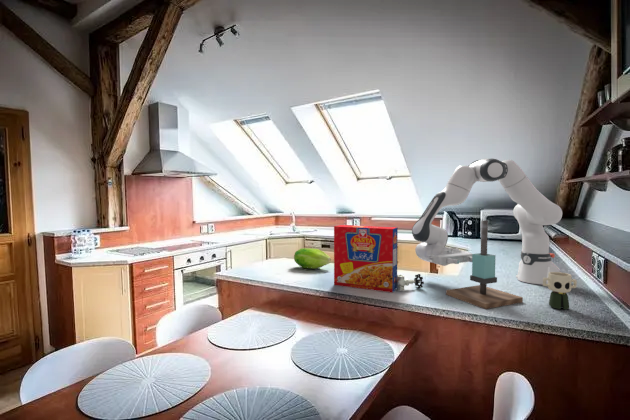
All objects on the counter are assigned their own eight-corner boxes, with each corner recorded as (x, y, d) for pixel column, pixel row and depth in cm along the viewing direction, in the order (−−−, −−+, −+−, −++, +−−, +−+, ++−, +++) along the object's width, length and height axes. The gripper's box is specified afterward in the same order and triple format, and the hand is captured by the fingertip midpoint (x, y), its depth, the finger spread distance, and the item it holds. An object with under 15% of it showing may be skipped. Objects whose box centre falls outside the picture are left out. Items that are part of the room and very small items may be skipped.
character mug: (545, 309, 127) (546, 275, 126) (538, 303, 134) (539, 270, 133) (580, 312, 124) (581, 277, 123) (571, 306, 131) (572, 272, 130)
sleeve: (482, 274, 144) (483, 252, 144) (495, 277, 139) (495, 255, 138) (472, 275, 142) (472, 254, 142) (484, 278, 136) (484, 256, 136)
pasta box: (334, 284, 163) (334, 226, 161) (340, 281, 170) (340, 224, 168) (392, 292, 150) (392, 229, 148) (397, 288, 157) (397, 227, 155)
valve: (400, 292, 150) (423, 290, 154) (400, 277, 150) (424, 275, 153) (392, 288, 157) (415, 286, 160) (392, 274, 156) (415, 272, 160)
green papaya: (324, 273, 187) (324, 251, 187) (288, 269, 197) (288, 249, 197) (334, 268, 199) (334, 248, 198) (299, 264, 209) (299, 245, 208)
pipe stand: (480, 289, 154) (481, 218, 152) (522, 302, 136) (524, 221, 134) (446, 294, 146) (447, 219, 145) (485, 309, 128) (487, 223, 126)
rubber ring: (482, 278, 145) (482, 273, 145) (496, 282, 139) (496, 277, 139) (470, 280, 142) (470, 275, 142) (484, 284, 136) (484, 279, 136)
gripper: (425, 250, 157) (447, 255, 144) (458, 247, 165) (483, 252, 152) (425, 264, 157) (447, 270, 144) (458, 260, 165) (482, 266, 152)
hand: (466, 261), depth 148 cm, fingers open, 8 cm apart
